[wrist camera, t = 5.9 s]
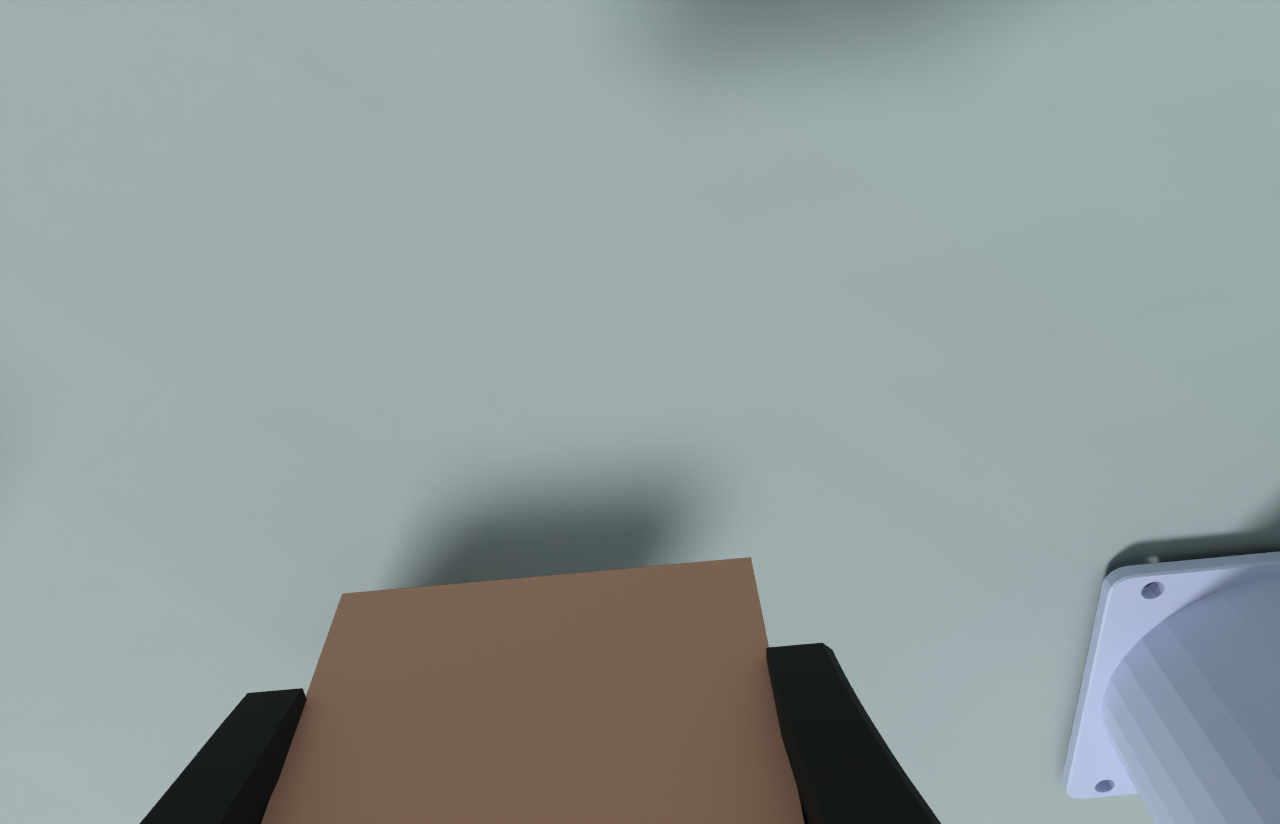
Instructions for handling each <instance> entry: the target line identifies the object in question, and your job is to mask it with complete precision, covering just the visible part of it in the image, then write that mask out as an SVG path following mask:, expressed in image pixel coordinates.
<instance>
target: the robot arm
mask: <svg viewBox="0 0 1280 824" xmlns="http://www.w3.org/2000/svg"><path fill="white" fill-rule="evenodd" d="M1152 582H1153V583H1152ZM1149 583H1152V584H1150V585H1149V586H1146V585H1147V584H1149ZM1144 586H1146V587H1144ZM766 660H767V665H768V670H769V675H770V681H771V686H772V691H773V696H774V701H775V706H776V711H777V716H778V721H779V726H780V731H781V737H782V740H783V743H784V746H785V750H786V753H787V756H788V759H789V762H790V766H791V769H792V772H793V775H794V779H795V782H796V785H797V789H798V794H799V799H800V803H801V808H802V813H803V818H804V823H805V824H941V823H940V821H939V820H938V819H937V817H936V816H935V814H934V813H933V812H932V810H931V809H930V807H929V806H928V804H927V803H926V802H925V800H924V799H923V797H922V796H921V795H920V793H919V792H918V790H917V789H916V787H915V786H914V785H913V783H912V782H911V780H910V779H909V778H908V776H907V775H906V773H905V772H904V770H903V769H902V767H901V766H900V764H899V763H898V761H897V760H896V758H895V757H894V755H893V754H892V752H891V751H890V749H889V748H888V746H887V744H886V743H885V741H884V740H883V738H882V736H881V735H880V733H879V732H878V730H877V729H876V727H875V725H874V724H873V722H872V721H871V719H870V717H869V716H868V714H867V712H866V711H865V709H864V707H863V706H862V704H861V702H860V701H859V699H858V697H857V696H856V694H855V692H854V690H853V688H852V687H851V685H850V683H849V681H848V679H847V678H846V676H845V674H844V672H843V670H842V668H841V666H840V664H839V662H838V660H837V658H836V656H835V654H834V652H833V650H832V649H830V648H829V647H828V646H826V645H825V644H824V643H815V644H803V645H792V646H780V647H769V648H766ZM306 700H307V699H306V696H305V694H304V691H303V688H301V689H290V690H278V691H267V692H255V693H247V695H246V696H245V697H244V698H243V699H242V700H241V702H240V703H239V704H238V705H237V706H236V707H235V709H234V710H233V711H232V712H231V713H230V715H229V716H228V717H227V718H226V719H225V720H224V722H223V723H222V724H221V725H220V727H219V728H218V729H217V730H216V731H215V733H214V734H213V735H212V736H211V737H210V739H209V740H208V741H207V742H206V744H205V745H204V746H203V747H202V748H201V750H200V751H199V752H198V753H197V755H196V756H195V757H194V758H193V760H192V761H191V762H190V763H189V764H188V766H187V767H186V768H185V769H184V771H183V772H182V773H181V774H180V775H179V777H178V778H177V779H176V780H175V782H174V783H173V784H172V785H171V786H170V788H169V789H168V790H167V791H166V792H165V794H164V795H163V796H162V797H161V799H160V800H159V801H158V802H157V803H156V805H155V806H154V807H153V808H152V810H151V811H150V812H149V813H148V814H147V816H146V817H145V818H144V819H143V820H142V821H141V823H140V824H261V823H262V820H263V817H264V814H265V811H266V808H267V806H268V803H269V800H270V798H271V795H272V793H273V791H274V789H275V787H276V784H277V782H278V780H279V777H280V774H281V772H282V769H283V766H284V763H285V760H286V757H287V754H288V752H289V749H290V746H291V743H292V740H293V737H294V734H295V732H296V729H297V726H298V723H299V720H300V717H301V715H302V712H303V709H304V706H305V703H306ZM1062 783H1063V785H1064V787H1065V789H1066V791H1067V793H1068V794H1069V795H1070V796H1072V797H1075V798H1082V799H1084V798H1096V797H1107V796H1118V795H1130V794H1139V796H1140V797H1141V799H1142V801H1143V803H1144V805H1145V806H1146V808H1147V810H1148V812H1149V814H1150V815H1151V817H1152V819H1153V821H1154V822H1155V824H1280V551H1279V552H1268V553H1258V554H1247V555H1237V556H1226V557H1216V558H1205V559H1194V560H1184V561H1173V562H1163V563H1152V564H1142V565H1131V566H1124V567H1120V568H1117V569H1115V570H1114V571H1112V572H1111V573H1110V574H1108V575H1107V576H1106V578H1105V579H1104V581H1103V584H1102V588H1101V592H1100V597H1099V602H1098V607H1097V612H1096V617H1095V621H1094V626H1093V631H1092V636H1091V641H1090V646H1089V650H1088V655H1087V660H1086V665H1085V670H1084V674H1083V679H1082V684H1081V689H1080V694H1079V699H1078V703H1077V708H1076V713H1075V718H1074V723H1073V727H1072V732H1071V737H1070V742H1069V747H1068V752H1067V756H1066V761H1065V766H1064V771H1063V776H1062Z"/></svg>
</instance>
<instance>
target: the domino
mask: <svg viewBox="0 0 1280 824" xmlns="http://www.w3.org/2000/svg"><path fill="white" fill-rule="evenodd" d="M766 648H769V645H768V640H767V635H766V630H765V625H764V621H763V616H762V611H761V606H760V601H759V596H758V591H757V586H756V581H755V576H754V571H753V566H752V561H751V557H749V558H738V559H727V560H716V561H705V562H693V563H682V564H671V565H660V566H648V567H637V568H626V569H615V570H603V571H592V572H581V573H570V574H559V575H547V576H536V577H525V578H514V579H502V580H491V581H480V582H469V583H457V584H446V585H435V586H424V587H413V588H401V589H390V590H379V591H368V592H356V593H345V594H342V596H341V599H340V602H339V604H338V607H337V610H336V613H335V616H334V619H333V621H332V624H331V627H330V630H329V633H328V636H327V638H326V641H325V644H324V647H323V650H322V653H321V655H320V658H319V661H318V664H317V667H316V670H315V672H314V675H313V678H312V681H311V684H310V687H309V689H308V692H307V695H306V699H307V700H306V703H305V706H304V709H303V712H302V715H301V717H300V720H299V723H298V726H297V729H296V732H295V734H294V737H293V740H292V743H291V746H290V749H289V752H288V754H287V757H286V760H285V763H284V766H283V769H282V772H281V774H280V777H279V780H278V782H277V784H276V787H275V789H274V791H273V793H272V795H271V798H270V800H269V803H268V806H267V808H266V811H265V814H264V817H263V820H262V823H261V824H805V823H804V818H803V813H802V808H801V803H800V799H799V794H798V789H797V785H796V782H795V779H794V775H793V772H792V769H791V766H790V762H789V759H788V756H787V753H786V750H785V746H784V743H783V740H782V737H781V731H780V726H779V721H778V716H777V711H776V706H775V701H774V696H773V691H772V686H771V681H770V675H769V670H768V665H767V660H766Z"/></svg>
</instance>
